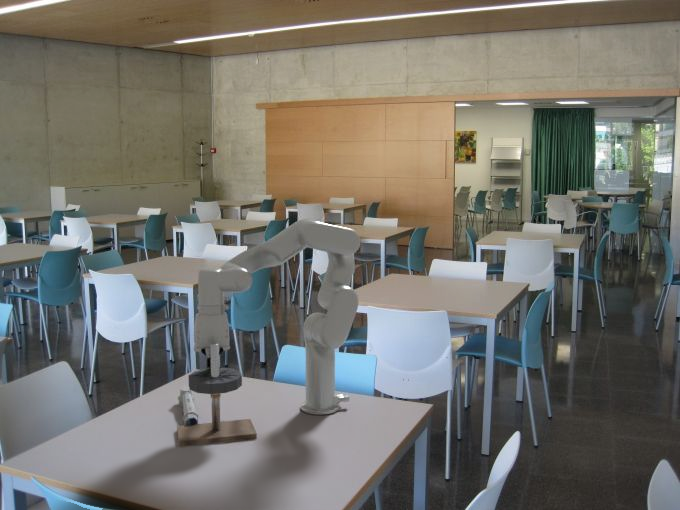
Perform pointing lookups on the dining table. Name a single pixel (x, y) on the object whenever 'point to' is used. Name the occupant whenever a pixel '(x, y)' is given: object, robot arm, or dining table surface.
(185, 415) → the white cylindrical tool
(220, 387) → the grey faceted washer
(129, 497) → the dining table surface
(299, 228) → the robot arm
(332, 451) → the dining table surface
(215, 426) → the steel pipe
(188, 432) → the pipe stand base
